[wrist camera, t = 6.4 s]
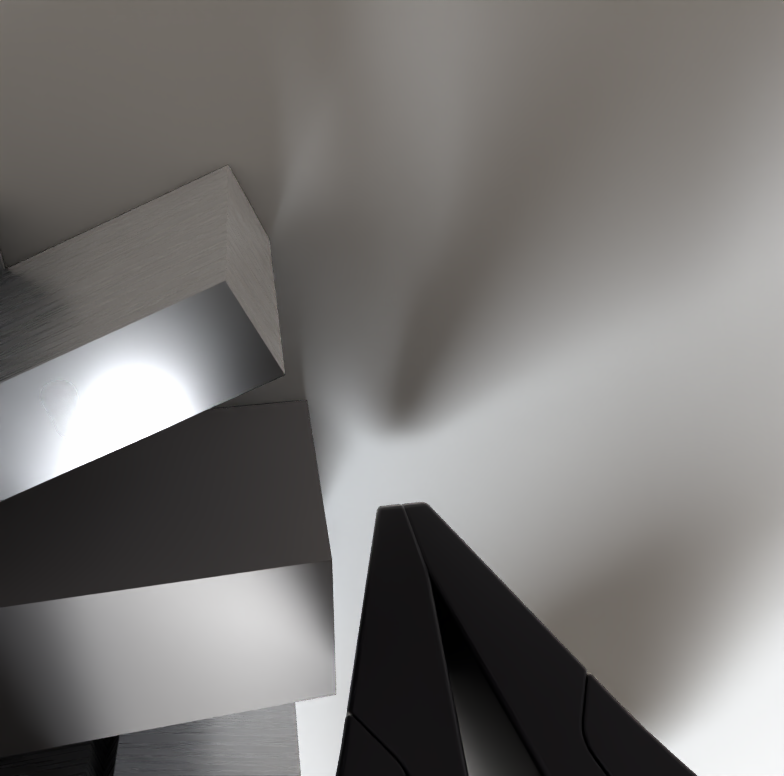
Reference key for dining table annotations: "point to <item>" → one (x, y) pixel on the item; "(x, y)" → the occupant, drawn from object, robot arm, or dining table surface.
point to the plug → (167, 582)
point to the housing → (142, 406)
